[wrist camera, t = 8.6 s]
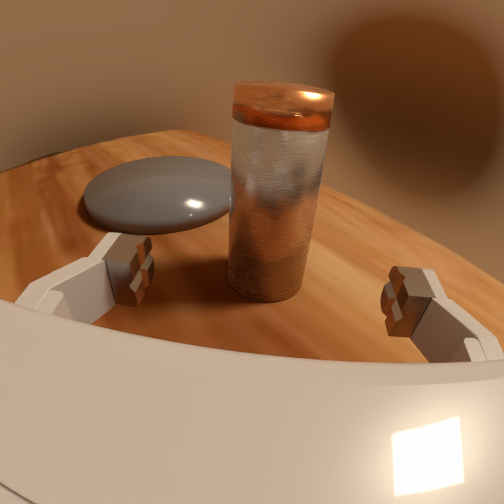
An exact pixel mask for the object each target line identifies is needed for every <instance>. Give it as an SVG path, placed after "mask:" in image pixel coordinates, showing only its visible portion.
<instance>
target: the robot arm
mask: <svg viewBox="0 0 504 504" xmlns="http://www.w3.org/2000/svg"><path fill="white" fill-rule="evenodd" d="M151 249H152V244H151V239H150V238H149V237H145V236H138V235H131V234H122V233H115V232H109V233H107V234H106V235H105V237H104V238H103V239H102V240H101V242H100V243H99V244H98V245H97V246H96V248H95V249H94V250H93V251H92V253H91V254H90V255H89V256H88V258H86V257H83V258H81V259H79V260H77V261H75V262H73V263H71V264H68V265H66V266H64V267H62V268H60V269H58V270H56V271H54V272H52V273H50V274H48V275H46V276H44V277H42V278H40V279H38V280H36V281H34V282H32V283H30V284H29V285H28V287H27V288H26V289H25V290H24V292H23V293H22V294H21V296H20V297H19V298H18V299H17V301H16V302H15V303H11V302H8V301H5V300H2V299H0V504H504V353H503V351H502V349H501V347H500V344H499V342H498V340H497V338H496V336H494V335H493V334H492V333H491V332H490V331H489V330H488V329H486V328H485V327H484V326H483V325H482V324H480V323H479V322H478V321H477V320H476V319H475V318H473V317H472V316H471V315H470V314H469V313H467V312H466V311H465V310H464V309H463V308H461V307H460V306H459V305H458V304H456V303H455V302H454V301H453V300H451V299H448V298H447V296H446V294H445V292H444V290H443V288H442V286H441V284H440V282H439V280H438V278H437V276H436V274H435V272H434V271H433V270H432V269H424V268H411V267H401V266H393V267H392V269H391V270H390V273H389V278H390V282H388V283H387V284H386V285H385V286H384V288H383V291H382V294H381V309H382V312H383V313H384V314H385V315H386V316H387V318H386V320H385V324H386V328H387V332H388V336H394V337H409V338H410V339H411V341H412V342H413V343H414V344H415V345H416V347H417V348H418V349H419V350H420V352H421V353H422V354H423V355H424V356H425V358H426V359H427V360H428V361H429V363H369V362H346V361H329V360H315V359H302V358H291V357H280V356H270V355H261V354H252V353H244V352H236V351H228V350H221V349H214V348H207V347H201V346H194V345H188V344H182V343H176V342H171V341H165V340H160V339H154V338H149V337H144V336H139V335H134V334H129V333H125V332H120V331H116V330H111V329H107V328H102V327H98V326H94V325H90V324H91V323H93V322H94V321H95V320H97V319H98V318H99V317H101V316H102V315H103V314H105V313H106V312H107V311H109V310H110V309H111V308H113V307H114V306H115V305H116V304H119V305H125V306H132V307H139V305H140V303H141V301H142V299H143V297H144V295H145V291H144V288H146V287H147V286H149V285H150V283H151V281H152V278H153V274H154V259H153V258H152V256H151V255H150V254H149V253H150V251H151Z"/></svg>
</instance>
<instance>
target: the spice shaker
mask: <svg viewBox="0 0 504 504" xmlns="http://www.w3.org/2000/svg"><path fill="white" fill-rule="evenodd" d="M334 95H335V94H334V93H333V92H331V91H328V90H325V89H321V88H316V87H311V86H306V85H299V84H291V83H283V82H269V81H241V82H235V83H234V85H233V106H232V118H233V130H232V153H231V180H230V211H229V250H228V280H229V283H230V285H231V286H232V287H233V289H234V290H235V291H236V292H238V293H239V294H241V295H242V296H244V297H246V298H249V299H252V300H255V301H260V302H277V301H282V300H285V299H288V298H290V297H292V296H293V295H295V294H296V293H297V292H298V291H299V289H300V288H301V285H302V281H303V276H304V271H305V266H306V261H307V256H308V250H309V245H310V240H311V235H312V229H313V224H314V218H315V213H316V207H317V201H318V195H319V189H320V183H321V177H322V171H323V164H324V158H325V151H326V144H327V138H328V131H329V128H330V124H331V117H332V110H333V102H334Z"/></svg>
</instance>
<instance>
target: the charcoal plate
mask: <svg viewBox="0 0 504 504" xmlns="http://www.w3.org/2000/svg"><path fill="white" fill-rule="evenodd" d="M230 180H231V170H230V169H229V168H227V167H225V166H223V165H221V164H219V163H216V162H213V161H209V160H205V159H200V158H194V157H183V156H164V157H153V158H146V159H140V160H135V161H131V162H127V163H124V164H121V165H118V166H115V167H113V168H110V169H108V170H106V171H104V172H103V173H101V174H99V175H98V176H96V177H95V178H94V179H93V180H92V181H91V182H90V183H89V184H88V185H87V187H86V189H85V191H84V200H85V206H86V211H87V213H88V216H89V217H90V218H91V219H92V220H93V221H94V222H95V223H97V224H99V225H100V226H102V227H105V228H107V229H110V230H114V231H118V232H123V233H130V234H163V233H171V232H178V231H183V230H188V229H192V228H195V227H199V226H202V225H205V224H207V223H210V222H212V221H214V220H216V219H218V218H220V217H222V216H223V215H225V214H226V213H227V212H229V211H230Z"/></svg>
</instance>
